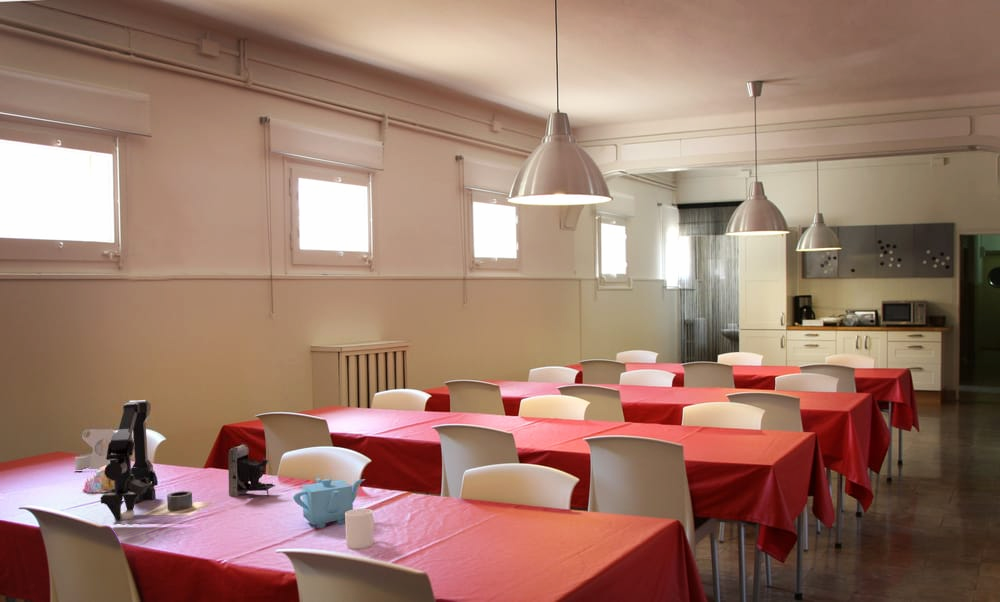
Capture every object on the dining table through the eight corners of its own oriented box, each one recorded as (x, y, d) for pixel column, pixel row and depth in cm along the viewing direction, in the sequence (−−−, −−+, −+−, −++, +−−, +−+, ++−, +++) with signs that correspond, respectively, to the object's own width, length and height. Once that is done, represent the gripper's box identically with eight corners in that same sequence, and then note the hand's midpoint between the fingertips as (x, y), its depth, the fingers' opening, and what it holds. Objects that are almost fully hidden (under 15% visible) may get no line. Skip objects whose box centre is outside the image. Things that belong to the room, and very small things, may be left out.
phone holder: (72, 471, 386) (70, 432, 386) (87, 466, 396) (85, 428, 396) (106, 471, 383) (104, 432, 383) (120, 467, 393) (118, 428, 393)
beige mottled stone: (109, 524, 293) (109, 515, 293) (121, 518, 301) (121, 509, 301) (127, 524, 293) (126, 515, 292) (138, 518, 300) (138, 509, 300)
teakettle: (290, 528, 279) (288, 484, 279) (318, 513, 297) (316, 472, 297) (341, 531, 274) (339, 487, 274) (367, 516, 292) (365, 474, 292)
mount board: (142, 518, 299) (142, 515, 299) (167, 505, 317) (167, 502, 317) (190, 518, 297) (190, 515, 297) (213, 505, 315) (213, 501, 315)
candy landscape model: (154, 484, 356) (153, 462, 356) (102, 496, 336) (101, 473, 336) (119, 478, 369) (118, 457, 369) (67, 490, 349) (66, 468, 349)
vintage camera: (264, 501, 320) (264, 449, 320) (227, 498, 323) (227, 447, 323) (276, 495, 330) (276, 444, 329) (240, 493, 333) (240, 443, 332)
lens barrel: (163, 510, 304) (162, 497, 304) (174, 504, 313) (174, 491, 312) (185, 510, 303) (184, 496, 303) (196, 504, 312) (195, 491, 311)
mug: (362, 536, 267) (361, 504, 267) (385, 539, 264) (383, 506, 264) (340, 548, 256) (339, 514, 256) (363, 550, 253) (362, 516, 253)
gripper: (129, 479, 286) (131, 524, 286) (157, 467, 305) (159, 510, 305) (98, 479, 287) (100, 524, 288) (128, 467, 306) (130, 510, 306)
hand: (124, 517), depth 297 cm, fingers closed on beige mottled stone, 7 cm apart
